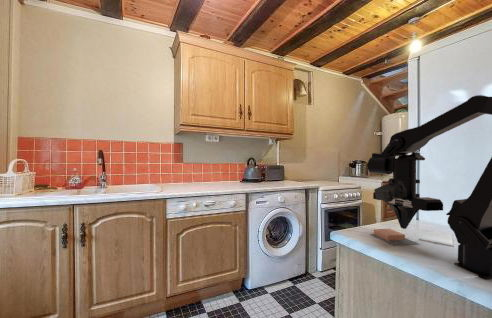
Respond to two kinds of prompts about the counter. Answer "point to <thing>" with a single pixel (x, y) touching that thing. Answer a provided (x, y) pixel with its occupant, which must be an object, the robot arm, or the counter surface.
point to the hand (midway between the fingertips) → (403, 228)
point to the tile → (389, 234)
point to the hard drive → (436, 237)
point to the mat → (397, 241)
